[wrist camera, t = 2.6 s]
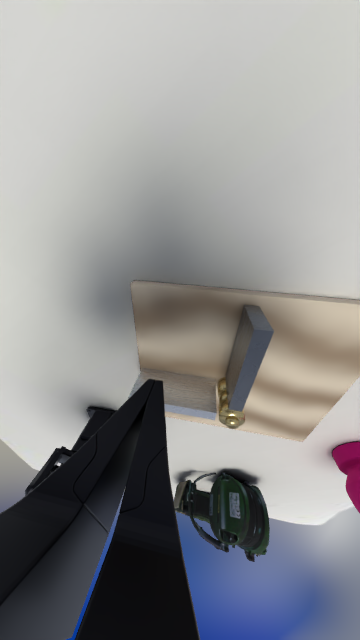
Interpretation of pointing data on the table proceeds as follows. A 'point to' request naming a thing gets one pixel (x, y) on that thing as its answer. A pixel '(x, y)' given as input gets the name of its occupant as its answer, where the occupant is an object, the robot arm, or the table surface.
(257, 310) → the swing leaf
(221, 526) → the headphones
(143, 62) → the table surface
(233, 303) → the board
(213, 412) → the fixed leaf
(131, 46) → the table surface
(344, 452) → the pepper mill
